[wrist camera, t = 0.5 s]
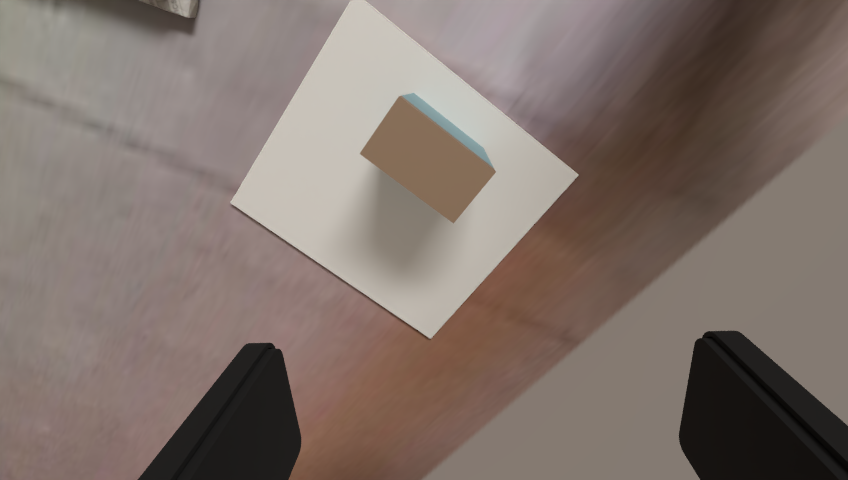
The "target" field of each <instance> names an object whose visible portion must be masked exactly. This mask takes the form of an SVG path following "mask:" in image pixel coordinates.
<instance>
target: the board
mask: <svg viewBox="0 0 848 480" xmlns="http://www.w3.org/2000/svg"><path fill="white" fill-rule="evenodd" d="M411 93H415V94H416V95H417V96H418V97H420V98H421V99H422V100H424V101H425V102H426V103H427V104H429V105H430V106H431V107H432V108H434V109H435V110H436V111H437V112H439V113H440V114H441V115H442V116H444V117H445V118H446V119H448V120H449V121H450V122H451V123H453V124H454V125H455V126H456V127H458V128H459V129H460V130H461V131H463V132H464V133H465V134H466V135H468V136H469V137H470V138H472V139H473V140H474V141H475V142H477V143H478V144H479V145H480V146H482V147H483V148H484V150H485V152H486V154H487V156H488V158H489V160H490V161H491V163H492V165H493V167H494V169H495V171H496V173H495V174H494V175H493V176H492V178H491V179H490V180H489V181H488V182H487V184H486V185H485V186H484V187H483V188H482V190H481V191H480V192H479V193H478V194H477V196H476V197H475V198H474V199H473V201H472V202H471V203H470V204H469V205H468V207H467V208H466V209H465V210H464V211H463V213H462V214H461V215H460V216H459V218H458V219H457V220H456V221H455V222H454V224H453V223H452V222H451V221H449V220H448V219H447V218H445V217H444V216H443V215H441V214H440V213H439V212H437V211H436V210H435V209H433V208H432V207H431V206H429V205H428V204H426V203H425V202H424V201H422V200H421V199H420V198H418V197H417V196H416V195H414V194H413V193H412V192H410V191H409V190H408V189H406V188H405V187H404V186H402V185H401V184H400V183H398V182H397V181H396V180H394V179H393V178H391V177H390V176H389V175H387V174H386V173H385V172H383V171H382V170H381V169H379V168H378V167H377V166H375V165H374V164H373V163H371V162H370V161H369V160H367V159H366V158H365V157H363V156H362V155H361V154H360V152H361V151H362V149H363V148H364V146H365V145H366V143H367V142H368V141H369V139H370V138H371V136H372V135H373V133H374V132H375V130H376V129H377V127H378V126H379V124H380V123H381V122H382V120H383V119H384V117H385V116H386V114H387V113H388V111H389V110H390V108H391V107H392V106H393V104H394V103H395V101H396V100H397V98H398V97H399V96H402V95H406V94H411ZM577 177H578V174H577V173H576V172H575V171H574V170H572V169H571V168H570V167H569V166H567V165H566V164H565V163H564V162H562V161H561V160H560V159H559V158H558V157H556V156H555V155H554V154H553V153H551V152H550V151H549V150H548V149H547V148H545V147H544V146H543V145H542V144H540V143H539V142H538V141H537V140H536V139H534V138H533V137H532V136H531V135H529V134H528V133H527V132H526V131H525V130H523V129H522V128H521V127H520V126H518V125H517V124H516V123H515V122H513V121H512V120H511V119H510V118H509V117H507V116H506V115H505V114H504V113H502V112H501V111H500V110H499V109H498V108H496V107H495V106H494V105H493V104H491V103H490V102H489V101H488V100H487V99H485V98H484V97H483V96H482V95H480V94H479V93H478V92H477V91H476V90H474V89H473V88H472V87H471V86H469V85H468V84H467V83H466V82H464V81H463V80H462V79H461V78H460V77H458V76H457V75H456V74H455V73H453V72H452V71H451V70H450V69H449V68H447V67H446V66H445V65H444V64H442V63H441V62H440V61H439V60H438V59H436V58H435V57H434V56H433V55H431V54H430V53H429V52H428V51H426V50H425V49H424V48H423V47H422V46H420V45H419V44H418V43H417V42H415V41H414V40H413V39H412V38H411V37H409V36H408V35H407V34H406V33H404V32H403V31H402V30H401V29H400V28H398V27H397V26H396V25H395V24H393V23H392V22H391V21H390V20H389V19H387V18H386V17H385V16H384V15H382V14H381V13H380V12H379V11H377V10H376V9H375V8H374V7H373V6H371V5H370V4H369V3H368V2H366V1H365V0H351V1H350V2H349V4H348V6H347V8H346V9H345V11H344V13H343V14H342V16H341V18H340V19H339V21H338V23H337V24H336V26H335V28H334V29H333V31H332V33H331V34H330V36H329V38H328V39H327V41H326V43H325V45H324V46H323V48H322V50H321V51H320V53H319V55H318V56H317V58H316V60H315V61H314V63H313V65H312V66H311V68H310V70H309V71H308V73H307V75H306V76H305V78H304V80H303V82H302V83H301V85H300V87H299V88H298V90H297V92H296V93H295V95H294V97H293V98H292V100H291V102H290V103H289V105H288V107H287V108H286V110H285V112H284V113H283V115H282V117H281V119H280V120H279V122H278V124H277V125H276V127H275V129H274V130H273V132H272V134H271V135H270V137H269V139H268V140H267V142H266V144H265V145H264V147H263V149H262V150H261V152H260V154H259V156H258V157H257V159H256V161H255V162H254V164H253V166H252V167H251V169H250V171H249V172H248V174H247V176H246V177H245V179H244V181H243V182H242V184H241V186H240V187H239V189H238V191H237V192H236V194H235V196H234V198H233V199H232V201H231V204H233V205H234V206H235V207H237V208H238V209H240V210H241V211H243V212H244V213H246V214H247V215H249V216H250V217H252V218H253V219H255V220H256V221H258V222H259V223H261V224H262V225H263V226H265V227H266V228H268V229H269V230H271V231H272V232H274V233H275V234H277V235H278V236H280V237H281V238H283V239H284V240H286V241H287V242H288V243H290V244H291V245H293V246H294V247H296V248H297V249H299V250H300V251H302V252H303V253H305V254H306V255H308V256H309V257H311V258H312V259H314V260H315V261H316V262H318V263H319V264H321V265H322V266H324V267H325V268H327V269H328V270H330V271H331V272H333V273H334V274H336V275H337V276H339V277H340V278H342V279H343V280H344V281H346V282H347V283H349V284H350V285H352V286H353V287H355V288H356V289H358V290H359V291H361V292H362V293H364V294H365V295H367V296H368V297H369V298H371V299H372V300H374V301H375V302H377V303H378V304H380V305H381V306H383V307H384V308H386V309H387V310H389V311H390V312H392V313H393V314H395V315H396V316H397V317H399V318H400V319H402V320H403V321H405V322H406V323H408V324H409V325H411V326H412V327H414V328H415V329H417V330H418V331H420V332H421V333H423V334H424V335H425V336H427V337H428V338H430V339H431V338H432V337H433V336H434V335H435V334H436V332H437V331H438V330H439V329H440V328H441V327H442V326H443V325H444V324H445V322H446V321H447V320H448V319H449V318H450V317H451V316H452V315H453V314H454V313H455V311H456V310H457V309H458V308H459V307H460V306H461V305H462V304H463V303H464V301H465V300H466V299H467V298H468V297H469V296H470V295H471V294H472V293H473V292H474V290H475V289H476V288H477V287H478V286H479V285H480V284H481V283H482V282H483V280H484V279H485V278H486V277H487V276H488V275H489V274H490V273H491V272H492V271H493V269H494V268H495V267H496V266H497V265H498V264H499V263H500V262H501V261H502V259H503V258H504V257H505V256H506V255H507V254H508V253H509V252H510V251H511V250H512V248H513V247H514V246H515V245H516V244H517V243H518V242H519V241H520V240H521V238H522V237H523V236H524V235H525V234H526V233H527V232H528V231H529V230H530V229H531V227H532V226H533V225H534V224H535V223H536V222H537V221H538V220H539V219H540V217H541V216H542V215H543V214H544V213H545V212H546V211H547V210H548V209H549V208H550V206H551V205H552V204H553V203H554V202H555V201H556V200H557V199H558V198H559V196H560V195H561V194H562V193H563V192H564V191H565V190H566V189H567V188H568V187H569V185H570V184H571V183H572V182H573V181H574V180H575V179H576V178H577Z"/></svg>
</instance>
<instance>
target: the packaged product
mask: <svg viewBox="0 0 848 480" xmlns="http://www.w3.org/2000/svg"><path fill="white" fill-rule="evenodd" d="M138 1H141V2H144V3H146V4H149V5H152V6H154V7H157V8H160V9H162V10H165V11H168V12H171V13H174V14H177V15H181V16H184V17H187V18H196V14H197V9H198V2H199V0H138Z"/></svg>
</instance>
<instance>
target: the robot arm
mask: <svg viewBox="0 0 848 480" xmlns="http://www.w3.org/2000/svg"><path fill="white" fill-rule="evenodd" d="M679 440H680V445H681V448H682V450H683V452H684V454H685V456H686V457H687V459H688V460H689V462H690V464H691V465H692V467H693V469H694V470H695V472H696V473H697V475H698V477H699V478H700V480H848V426H847V425H846V424H845V423H844V422H843V421H841V420H840V419H839V418H838V417H837V416H836V415H835V414H833V413H832V412H831V411H830V410H829V409H828V408H827V407H825V406H824V405H823V404H822V403H821V402H820V401H819V400H817V399H816V398H815V397H814V396H813V395H812V394H811V393H809V392H808V391H807V390H806V389H805V388H804V387H802V386H801V385H800V384H799V383H798V382H797V381H796V380H794V379H793V378H792V377H791V376H790V375H789V374H788V373H786V372H785V371H784V370H783V369H782V368H781V367H780V366H778V365H777V364H776V363H775V362H774V361H773V360H772V359H770V358H769V357H768V356H767V355H766V354H764V353H763V352H762V351H761V350H760V349H759V348H758V347H756V345H754V344H753V343H752V342H751V341H750V340H749V339H747V338H746V337H745V336H744V335H743V334H742V333H740V332H738V331H708V332H706V333H705V334H704V335H703V337H702V338H700V339H697V340H696V342H695V345H694V351H693V357H692V362H691V368H690V374H689V379H688V385H687V391H686V397H685V403H684V408H683V414H682V420H681V425H680V431H679ZM300 448H301V434H300V429H299V425H298V421H297V416H296V412H295V407H294V403H293V398H292V394H291V389H290V385H289V380H288V376H287V372H286V367H285V363H284V358H283V354H282V351H281V350H280V349H275V346H274V345H273V344H272V343H249V344H246V345H245V346H244V347H243V348H242V349H241V350H240V352H239V353H238V354H237V355H236V357H235V358H234V359H233V360H232V362H231V363H230V364H229V365H228V367H227V368H226V369H225V370H224V372H223V373H222V374H221V375H220V377H219V378H218V379H217V381H216V382H215V383H214V384H213V386H212V387H211V388H210V389H209V391H208V392H207V393H206V394H205V396H204V397H203V398H202V399H201V401H200V402H199V403H198V404H197V406H196V407H195V408H194V410H193V411H192V412H191V413H190V415H189V416H188V417H187V418H186V420H185V421H184V422H183V423H182V425H181V426H180V427H179V428H178V430H177V431H176V432H175V433H174V435H173V436H172V437H171V439H170V440H169V441H168V442H167V444H166V445H165V446H164V447H163V449H162V450H161V451H160V452H159V454H158V455H157V456H156V457H155V459H154V460H153V461H152V462H151V464H150V465H149V466H148V468H147V469H146V470H145V471H144V473H143V474H142V475H141V476H140V478H139V479H138V480H288V479H289V477H290V474H291V472H292V469H293V467H294V465H295V462H296V460H297V457H298V455H299V452H300Z"/></svg>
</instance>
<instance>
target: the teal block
mask: <svg viewBox="0 0 848 480" xmlns="http://www.w3.org/2000/svg"><path fill="white" fill-rule="evenodd" d="M360 154H361V155H362V156H363V157H365V158H366V159H367V160H369V161H370V162H371V163H373V164H374V165H375V166H377V167H378V168H379V169H381V170H382V171H383V172H385V173H386V174H387V175H389V176H390V177H391V178H393V179H394V180H396V181H397V182H398V183H400V184H401V185H402V186H404V187H405V188H406V189H408V190H409V191H410V192H412V193H413V194H414V195H416V196H417V197H418V198H420V199H421V200H422V201H424V202H425V203H426V204H428V205H429V206H431V207H432V208H433V209H435V210H436V211H437V212H439V213H440V214H441V215H443V216H444V217H445V218H447V219H448V220H449V221H451V222H452V223H453V224H454V222H455V221H456V220H457V219H458V218H459V216H460V215H461V214H462V213H463V211H464V210H465V209H466V208H467V207H468V205H469V204H470V203H471V202H472V201H473V199H474V198H475V197H476V196H477V194H478V193H479V192H480V191H481V190H482V188H483V187H484V186H485V185H486V184H487V182H488V181H489V180H490V179H491V178H492V176H493V175H494V174H495V173H496V171H495V169H494V167H493V165H492V163H491V161H490V160H489V158H488V156H487V154H486V152H485V150H484V148H483V147H482V146H480V145H479V144H478V143H477V142H475V141H474V140H473V139H472V138H470V137H469V136H468V135H466V134H465V133H464V132H463V131H461V130H460V129H459V128H458V127H456V126H455V125H454V124H453V123H451V122H450V121H449V120H448V119H446V118H445V117H444V116H442V115H441V114H440V113H439V112H437V111H436V110H435V109H434V108H432V107H431V106H430V105H429V104H427V103H426V102H425V101H424V100H422V99H421V98H420V97H418V96H417V95H416V94H415V93H411V94H406V95H402V96H399V97H398V98H397V100H396V101H395V103H394V104H393V106H392V107H391V108H390V110H389V111H388V113H387V114H386V116H385V117H384V119H383V120H382V122H381V123H380V124H379V126H378V127H377V129H376V130H375V132H374V133H373V135H372V136H371V138H370V139H369V141H368V142H367V143H366V145H365V146H364V148H363V149H362V151H361V152H360Z"/></svg>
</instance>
